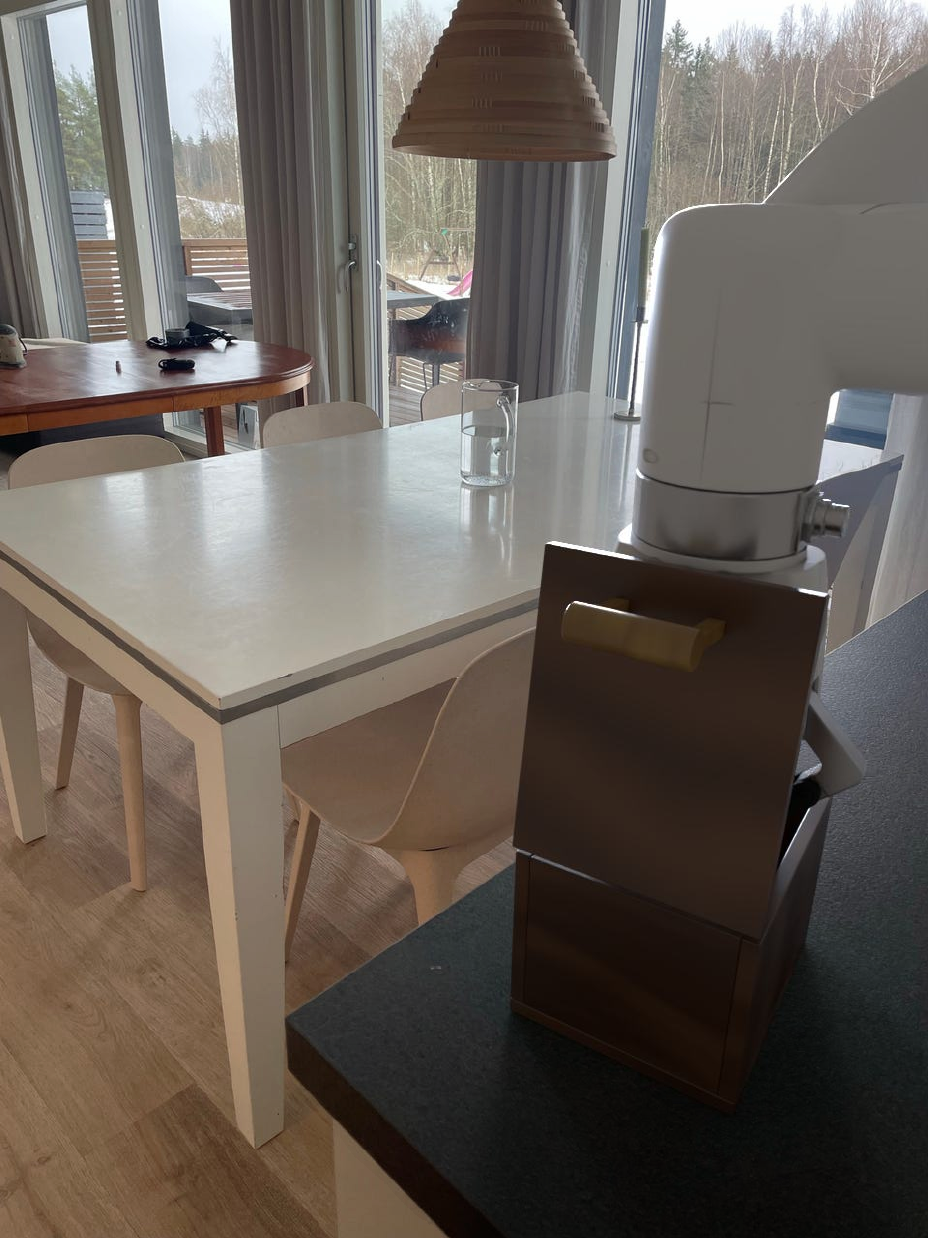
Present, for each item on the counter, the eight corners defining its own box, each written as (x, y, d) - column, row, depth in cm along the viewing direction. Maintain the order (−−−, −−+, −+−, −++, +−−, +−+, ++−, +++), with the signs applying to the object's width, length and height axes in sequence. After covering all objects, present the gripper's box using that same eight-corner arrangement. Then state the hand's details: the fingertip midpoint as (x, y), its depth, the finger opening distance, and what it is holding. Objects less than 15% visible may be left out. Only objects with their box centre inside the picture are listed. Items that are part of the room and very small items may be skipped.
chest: (616, 870, 58) (628, 733, 55) (805, 940, 53) (833, 793, 49) (509, 1010, 48) (515, 851, 44) (732, 1117, 42) (760, 945, 38)
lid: (552, 540, 40) (489, 557, 36) (830, 593, 35) (797, 621, 30) (519, 840, 44) (458, 889, 40) (764, 932, 38) (725, 1001, 34)
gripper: (949, 526, 39) (873, 876, 46) (578, 471, 48) (561, 774, 54) (922, 575, 33) (840, 969, 40) (505, 503, 42) (496, 838, 49)
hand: (679, 854), depth 47 cm, fingers closed on beverage cup, 6 cm apart
